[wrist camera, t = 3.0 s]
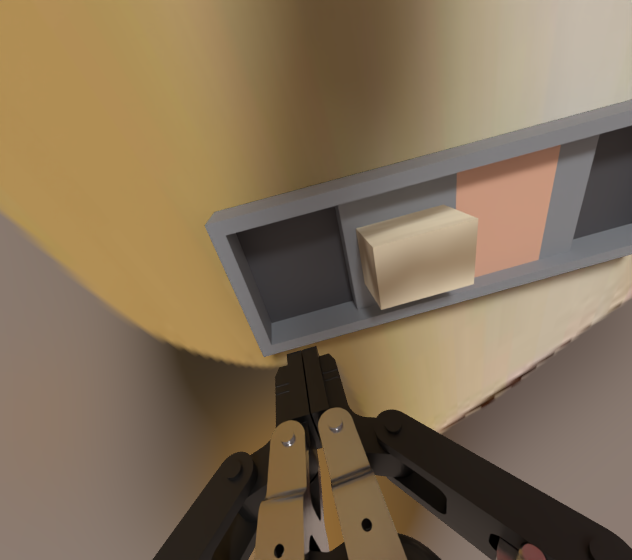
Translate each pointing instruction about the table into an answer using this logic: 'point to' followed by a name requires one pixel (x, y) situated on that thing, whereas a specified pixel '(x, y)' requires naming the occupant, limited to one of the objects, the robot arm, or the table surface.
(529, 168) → the channel
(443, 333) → the table surface
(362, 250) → the birch block
